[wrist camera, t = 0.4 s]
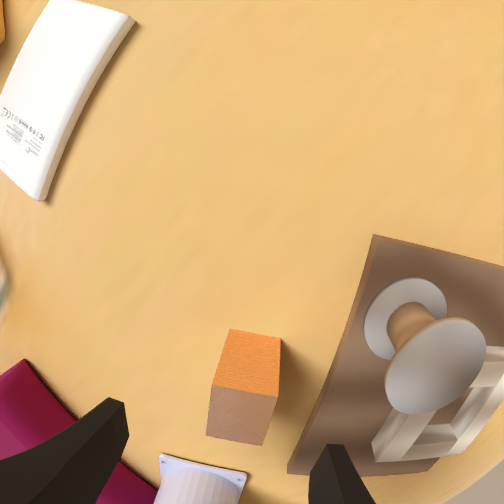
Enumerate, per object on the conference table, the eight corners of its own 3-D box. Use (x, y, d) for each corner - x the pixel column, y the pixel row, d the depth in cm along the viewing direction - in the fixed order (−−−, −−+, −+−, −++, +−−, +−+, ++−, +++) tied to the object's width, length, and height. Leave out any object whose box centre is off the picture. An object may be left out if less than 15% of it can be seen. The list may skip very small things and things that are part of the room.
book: (29, 352, 21) (-20, 398, 14) (205, 513, 27) (193, 560, 20) (-19, 388, 26) (-48, 416, 19) (108, 509, 32) (94, 541, 25)
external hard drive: (140, 24, 13) (51, 198, 17) (63, 1, 13) (-7, 149, 16) (128, 14, 12) (35, 202, 15) (51, -6, 11) (-21, 150, 15)
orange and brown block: (267, 387, 19) (261, 445, 14) (221, 378, 19) (205, 435, 14) (280, 338, 17) (278, 396, 13) (229, 328, 18) (212, 384, 13)
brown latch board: (424, 463, 20) (439, 509, 15) (287, 464, 21) (284, 522, 15) (534, 275, 14) (586, 310, 9) (373, 234, 15) (418, 276, 9)
